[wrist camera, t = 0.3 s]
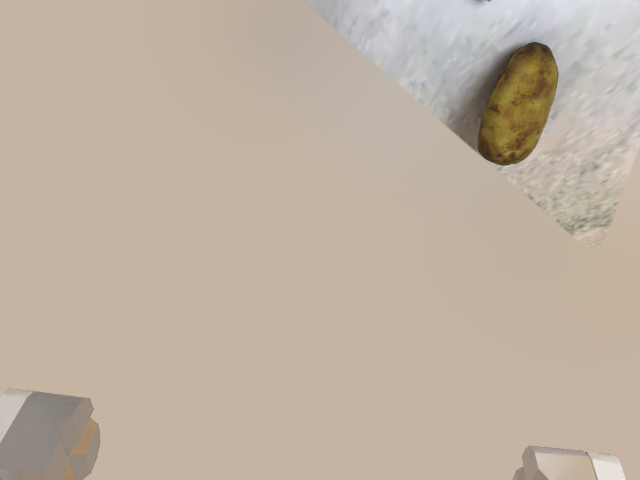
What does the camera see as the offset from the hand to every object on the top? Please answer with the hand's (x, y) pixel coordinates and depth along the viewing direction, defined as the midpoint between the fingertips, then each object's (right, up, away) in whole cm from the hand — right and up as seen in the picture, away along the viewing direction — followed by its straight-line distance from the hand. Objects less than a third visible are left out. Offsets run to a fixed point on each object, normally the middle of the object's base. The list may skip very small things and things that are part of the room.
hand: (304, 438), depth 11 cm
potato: (+22, +21, +56) cm, 64 cm away
